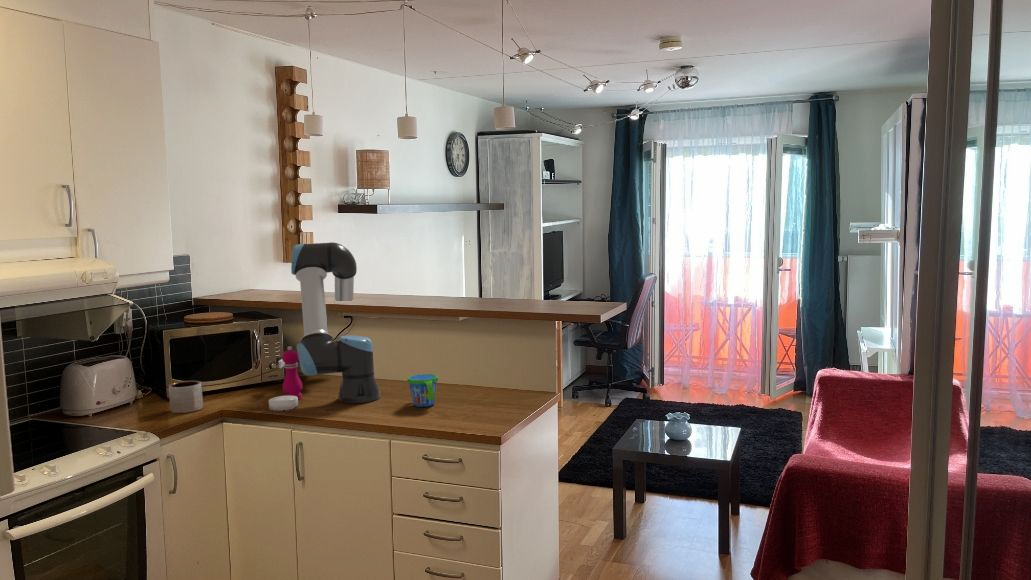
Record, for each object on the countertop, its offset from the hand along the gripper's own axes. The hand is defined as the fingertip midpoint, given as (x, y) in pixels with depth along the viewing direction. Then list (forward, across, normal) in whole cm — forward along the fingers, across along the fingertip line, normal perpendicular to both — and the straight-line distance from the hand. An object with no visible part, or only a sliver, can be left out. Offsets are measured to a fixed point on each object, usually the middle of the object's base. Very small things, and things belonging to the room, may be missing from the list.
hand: (297, 364), depth 298 cm
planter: (+19, +36, -11) cm, 42 cm away
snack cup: (+27, -50, -11) cm, 58 cm away
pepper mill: (+10, 0, -11) cm, 15 cm away
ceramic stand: (+22, 0, -11) cm, 24 cm away
